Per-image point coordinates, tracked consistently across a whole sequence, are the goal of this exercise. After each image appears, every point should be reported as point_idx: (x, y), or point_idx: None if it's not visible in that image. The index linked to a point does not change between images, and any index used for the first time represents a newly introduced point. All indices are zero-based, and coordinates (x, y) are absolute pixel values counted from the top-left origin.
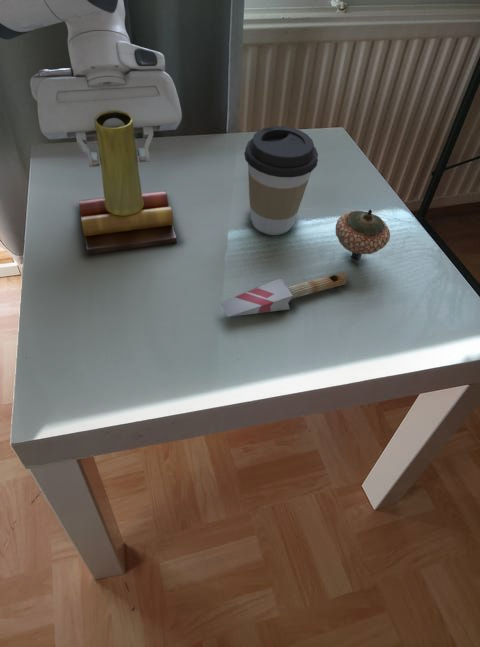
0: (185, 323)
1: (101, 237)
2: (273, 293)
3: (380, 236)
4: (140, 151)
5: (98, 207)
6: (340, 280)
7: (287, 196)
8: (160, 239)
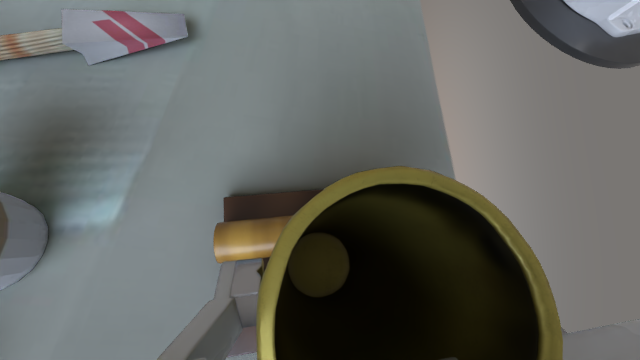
0: (245, 41)
1: None
2: (93, 23)
3: None
4: (253, 279)
5: None
6: None
7: None
8: (254, 195)
